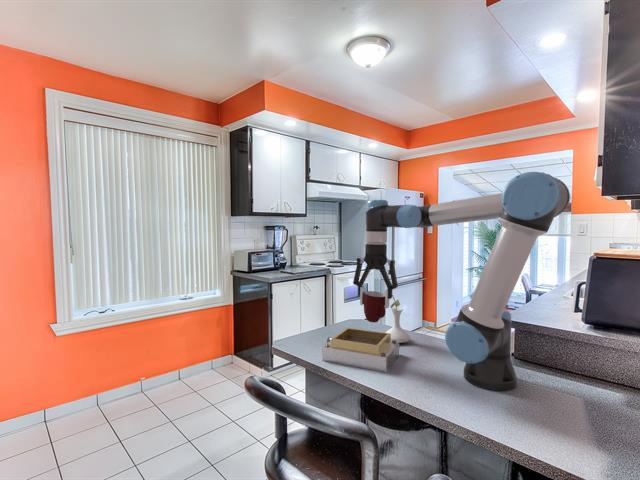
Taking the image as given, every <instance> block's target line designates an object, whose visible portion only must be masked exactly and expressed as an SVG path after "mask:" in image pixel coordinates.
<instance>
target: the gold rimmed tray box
mask: <svg viewBox="0 0 640 480" xmlns="http://www.w3.org/2000/svg"><path fill="white" fill-rule="evenodd" d="M398 356H400V343H399V341H396V340H391V333H386V332H381V331H375V330H368V329H359V328H353V327H345V329H343V330H342V331H340V332H339V333H337V334H336V335H334V336H333V337H330V336H328V337H327V338H326V344H324V345H322V346H321V359H322V361H324V362H329V363H335V364H340V365H346V366H351V367H355V368H362V369H365V370H370V371H372V370H373V371H377V372H383V373H387V372H388V371H389V369H390V368H391V367H392V365H393V364H394V362H395V361H396V359H397V358H398Z"/></svg>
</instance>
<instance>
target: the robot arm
mask: <svg viewBox="0 0 640 480" xmlns="http://www.w3.org/2000/svg"><path fill="white" fill-rule="evenodd" d="M570 199H571V193H570V189H569V188H568V186H567V185H566V184H565V183H564V182H563V181H562V180H561V179H558V178H556V177H554V176H552V175H551V174H548V173H545V172H539V171H528V172H523V173H520V174H518V175H516V176H514V177H513V178H511V179H510V180H509V181H508V182H507V183H506V185H505V186H504V188H503V190H502V192H501V193H494V194H489V195H482V196H477V197H471V198H464V199H463V198H462V199H458V200H453V201H446V202H440V203H435V204H429V205H422V206H421V205H419V206H417V205H415V204H398V205H397V204H396V205H394V204H393V205H389V202H388V200H387V199H386V200H385V199H370V200H368V201H367V202H366V210H365V242H366V244H365V246H364V247H365V252H364V253H365V254H364V257H357V258H356V268H355V272H354V276H353V281H352V283H353V285H355V286H357V295H358V296H359V305H360V306H364V302H363V298H364V292H366V286H364V283H366V280H367V277H368V275H369V274H370V272H371V270H377V271H379V272H380V274H381V276H382V279H383V281H384V283H385V286H386V289H385V292H384V294H385V309H388V308H389V307H390V300H391V299H393V297H392V295H393V290H395V289H397V288H398V287H399V283H398V280H397V272H396V268H395V266H396V260H395V259H388V256H387V251H388V249H387V246H388V245H387V244H386V243H387V242H388V228H401V229H402V228H404V229H412V228H421V229H425V228H429V227H434V226H435V227H436V226H442V225H443V226H445V225H452V224H460V223H470V222H479V221H487V220H497V219H498V220H499V222H500V224H501V226H500V229H499V231H498V234H497V236H496V239H495V241H494V243H493V246H492V249H491V251H490V253H489V255H488V258H487V260H486V263H485V265H484V268H483V270H482V272H481V274H480V276H479V280H478V282H477V283H476V287H475V289H474V291H473V294H472V296H471V299H470V301H469V303H468V304H465V305H462V306H461V308H460V310H459V313H458V314H457V317H456V319H455V321H454V322H452V323H451V324H449V326H448V327H447V328H446V331H445V333H444V338H445V344H446V346H447V348H448V351H449V352H450V353H451V354H452V355H453V357H455V358H456V359H457V360H459V361H461V362H463V363H465V365H464V366H463V367H464V368H463V378H464V380H465V381H467V382H468V383H469V384H471V385H473V386H476V387H479V388H481V389H485V390H491V391H497V392H498V391H499V392H500V391H501V392H503V391H504V392H505V391H511V390H514V389H516V388H517V385H518V377H517V374H516V371H515V368H514V365H513V363H512V358H511V357H512V353H511V352H512V324H513V320H512V314H511V312H510V311H508V310H507V309H506V307H507V305H508V302H509V300H510V298H511V296H512V294H513V291H514V289H515V287H516V286H517V283H518V281H519V278H520V276H521V274H522V272H523V270H524V267H525V266H526V263H527V261H528V259H529V256H530V254H531V252H532V250H533V247H534V245H535V244H536V241H537V239H538V237H539V236H543V235H545V234H547V233H548V231H549V229H550V228H551V225H552V223H553V222H554V218H556V217H557V216H560V215H561V214H562V213H564V211H565V210H566V209H567V208H568V206H569V204H570ZM364 262H365V264H366V266H365V268H364V272H363V273H362V276H361V272H362V268H363V264H364ZM386 264H387V265H388V266H389V273H390V277H389V274H388V273H387V270H386V267H385V265H386Z"/></svg>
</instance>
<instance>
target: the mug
mask: <svg viewBox="0 0 640 480" xmlns="http://www.w3.org/2000/svg"><path fill="white" fill-rule="evenodd" d="M363 302H364V304H363V313H364V317H365V320H366V321H367V322H369V323H378V322H379V321H380V319H383V318H385V316H386V308H385V292H384V293H383V292H380V291H376V290H375V291H374V290H373V291H372V290H370V291H369V290H368V291H366V290H365V292H364V298H363Z"/></svg>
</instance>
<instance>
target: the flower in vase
mask: <svg viewBox="0 0 640 480" xmlns="http://www.w3.org/2000/svg"><path fill="white" fill-rule="evenodd" d="M392 299H393V301H394V302H393V303H392V304H391V305H390V306H389V307H390V310H391V311H392V314H393V326H392V327H391V328H390V329H388V330H387V331H385V333H391V340H396V341H399V344H403V343H407V342H409V341H410V340H411V336H410V334H409V333H408V332H407V331H406V330H405V329H403V328H402V327H401V324H400V319H401V314H402V312H403V310H404V309H403V308H400V307H399V306H400V305H401V303H400V301H399V299H395V297H394V294H392ZM394 306H395V307H394Z"/></svg>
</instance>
